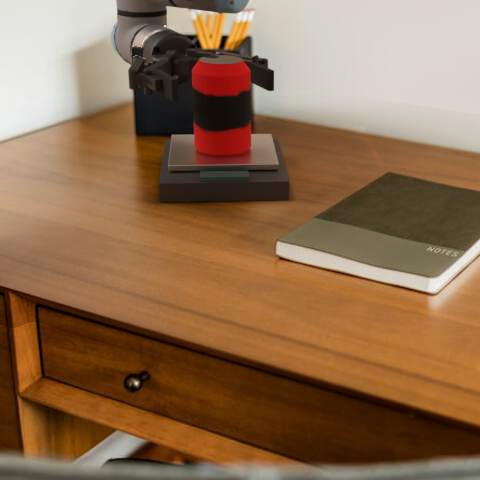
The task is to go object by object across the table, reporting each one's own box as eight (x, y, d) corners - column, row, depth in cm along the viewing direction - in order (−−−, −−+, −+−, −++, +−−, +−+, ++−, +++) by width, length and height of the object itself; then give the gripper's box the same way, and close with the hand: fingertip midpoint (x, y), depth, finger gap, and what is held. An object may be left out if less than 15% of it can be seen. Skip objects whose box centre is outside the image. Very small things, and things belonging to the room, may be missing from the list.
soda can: (228, 137, 126) (226, 51, 122) (262, 149, 121) (262, 61, 117) (183, 147, 121) (179, 58, 117) (217, 160, 116) (214, 68, 112)
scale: (160, 202, 111) (158, 178, 110) (165, 156, 129) (164, 135, 127) (289, 199, 114) (289, 176, 113) (277, 154, 131) (277, 134, 130)
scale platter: (168, 171, 114) (168, 165, 114) (171, 139, 127) (171, 134, 126) (278, 169, 116) (278, 163, 116) (271, 139, 129) (271, 133, 129)
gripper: (242, 73, 141) (308, 104, 125) (83, 87, 129) (133, 124, 112) (242, 24, 138) (309, 49, 122) (79, 34, 126) (129, 64, 109)
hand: (224, 85), depth 117 cm, fingers open, 13 cm apart
